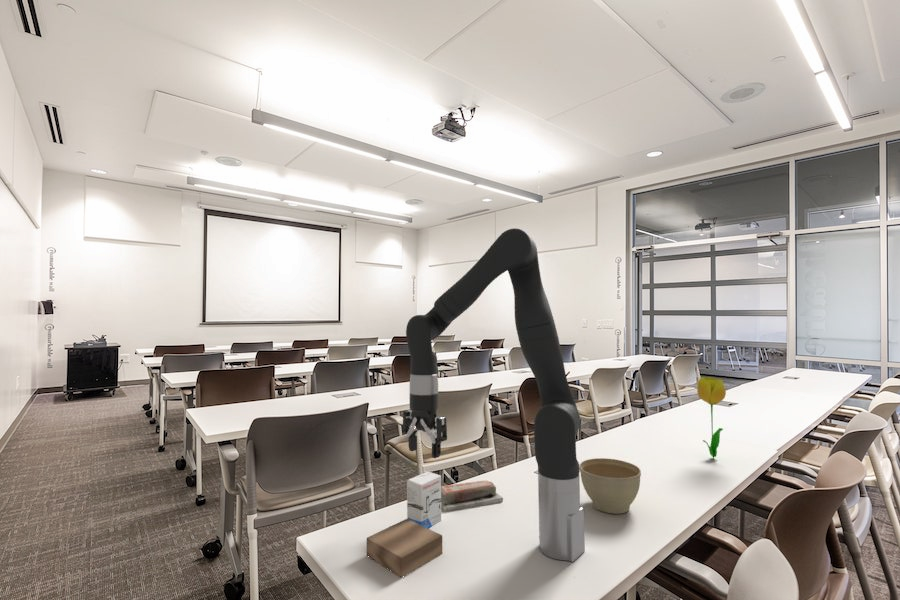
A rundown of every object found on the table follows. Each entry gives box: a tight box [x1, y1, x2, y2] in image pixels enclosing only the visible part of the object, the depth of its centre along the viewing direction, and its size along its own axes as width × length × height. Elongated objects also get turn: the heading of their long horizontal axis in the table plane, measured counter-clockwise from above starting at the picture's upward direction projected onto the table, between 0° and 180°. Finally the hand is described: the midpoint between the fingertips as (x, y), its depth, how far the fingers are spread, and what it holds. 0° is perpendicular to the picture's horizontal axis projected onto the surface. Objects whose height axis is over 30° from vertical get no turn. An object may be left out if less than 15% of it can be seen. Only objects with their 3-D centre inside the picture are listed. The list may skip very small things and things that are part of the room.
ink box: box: [406, 471, 442, 529], centre depth 109 cm, size 9×5×12 cm, turn 143°
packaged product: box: [441, 480, 504, 513], centre depth 123 cm, size 18×5×10 cm
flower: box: [696, 376, 727, 460], centre depth 156 cm, size 9×8×30 cm
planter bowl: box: [579, 457, 642, 514], centre depth 118 cm, size 16×16×11 cm
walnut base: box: [366, 518, 443, 578], centre depth 95 cm, size 12×12×4 cm
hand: (424, 453), depth 110 cm, fingers open, 8 cm apart
